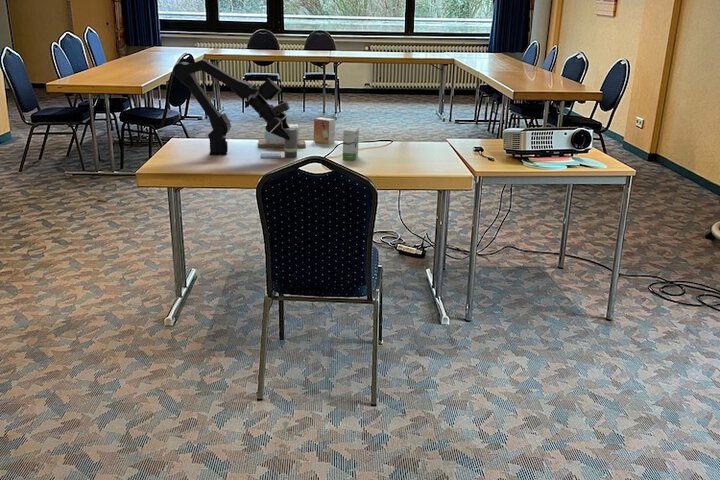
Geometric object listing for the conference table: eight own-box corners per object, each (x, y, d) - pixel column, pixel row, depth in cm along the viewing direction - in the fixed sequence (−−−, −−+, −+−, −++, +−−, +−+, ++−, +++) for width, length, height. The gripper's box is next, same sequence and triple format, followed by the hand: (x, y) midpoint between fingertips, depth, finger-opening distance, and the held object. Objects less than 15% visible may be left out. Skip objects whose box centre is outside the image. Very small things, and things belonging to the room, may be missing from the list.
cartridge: (284, 157, 276) (284, 130, 272) (284, 155, 281) (284, 128, 277) (297, 157, 277) (297, 130, 273) (296, 155, 282) (296, 128, 278)
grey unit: (258, 147, 293) (258, 127, 290) (258, 142, 302) (258, 123, 300) (305, 147, 296) (305, 128, 293) (304, 143, 305) (304, 124, 302)
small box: (313, 142, 308) (313, 118, 305) (319, 140, 313) (320, 116, 310) (328, 144, 305) (329, 120, 302) (335, 142, 310) (335, 118, 306)
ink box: (354, 160, 276) (355, 131, 272) (342, 159, 277) (342, 130, 273) (358, 156, 284) (359, 127, 280) (346, 155, 285) (347, 126, 281)
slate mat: (260, 158, 274) (260, 156, 274) (260, 154, 280) (260, 153, 280) (280, 158, 275) (280, 156, 275) (280, 154, 282) (280, 153, 281)
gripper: (273, 97, 262) (302, 127, 265) (280, 91, 280) (307, 119, 283) (253, 117, 265) (282, 147, 268) (261, 110, 283) (288, 137, 286)
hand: (291, 137), depth 276 cm, fingers open, 9 cm apart
